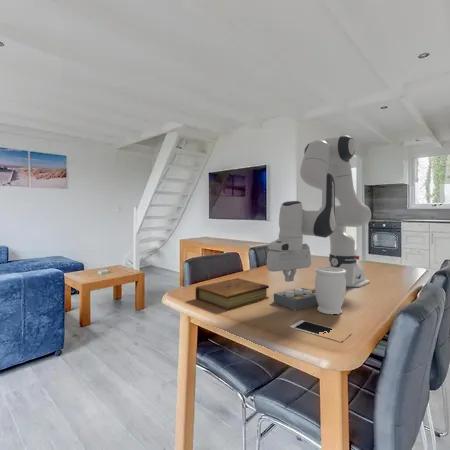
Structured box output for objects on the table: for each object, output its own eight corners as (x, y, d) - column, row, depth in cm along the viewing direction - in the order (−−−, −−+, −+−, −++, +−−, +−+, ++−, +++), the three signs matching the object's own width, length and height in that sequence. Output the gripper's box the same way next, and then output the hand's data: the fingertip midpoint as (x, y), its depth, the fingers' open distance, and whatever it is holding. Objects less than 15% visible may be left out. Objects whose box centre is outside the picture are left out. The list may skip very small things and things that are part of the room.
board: (302, 296, 127) (302, 287, 126) (324, 302, 117) (324, 293, 117) (273, 302, 118) (273, 292, 118) (294, 310, 109) (295, 300, 108)
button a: (289, 297, 117) (289, 289, 117) (295, 299, 114) (296, 291, 114) (283, 298, 115) (283, 291, 115) (289, 301, 112) (289, 293, 112)
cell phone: (341, 344, 82) (341, 342, 82) (289, 328, 93) (289, 326, 93) (352, 335, 88) (352, 333, 88) (301, 321, 99) (301, 319, 99)
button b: (307, 297, 123) (307, 289, 122) (313, 298, 120) (313, 291, 120) (301, 298, 121) (301, 290, 121) (308, 300, 118) (308, 292, 118)
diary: (236, 290, 137) (236, 277, 137) (268, 299, 124) (268, 285, 123) (195, 300, 122) (195, 285, 121) (227, 311, 108) (227, 295, 108)
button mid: (298, 295, 120) (298, 288, 120) (305, 297, 117) (305, 289, 117) (292, 296, 118) (293, 289, 118) (299, 298, 115) (299, 291, 115)
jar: (309, 306, 113) (310, 266, 112) (336, 306, 114) (337, 266, 113) (321, 316, 102) (322, 272, 101) (350, 316, 103) (352, 272, 102)
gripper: (303, 242, 122) (302, 276, 123) (264, 244, 111) (263, 282, 111) (315, 244, 117) (314, 279, 117) (276, 246, 105) (275, 286, 106)
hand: (289, 281), depth 114 cm, fingers closed
